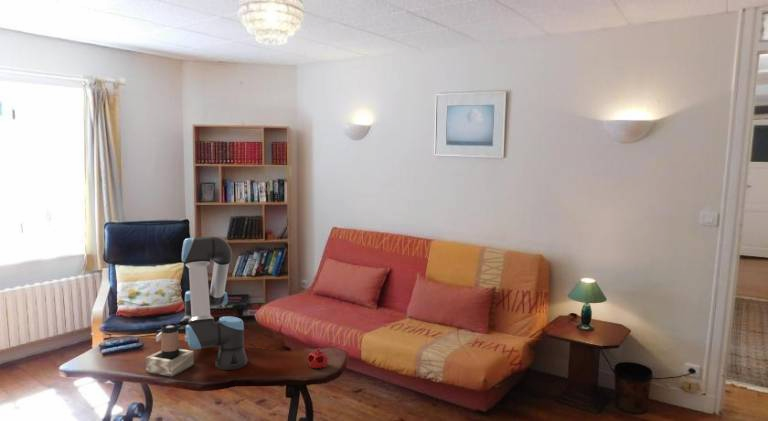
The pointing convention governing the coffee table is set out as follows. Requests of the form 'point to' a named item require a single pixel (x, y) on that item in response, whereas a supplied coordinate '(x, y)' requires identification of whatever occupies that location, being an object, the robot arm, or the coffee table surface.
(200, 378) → the coffee table surface
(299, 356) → the coffee table surface
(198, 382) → the coffee table surface
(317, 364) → the pomegranate
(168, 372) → the well
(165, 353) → the travel mug
